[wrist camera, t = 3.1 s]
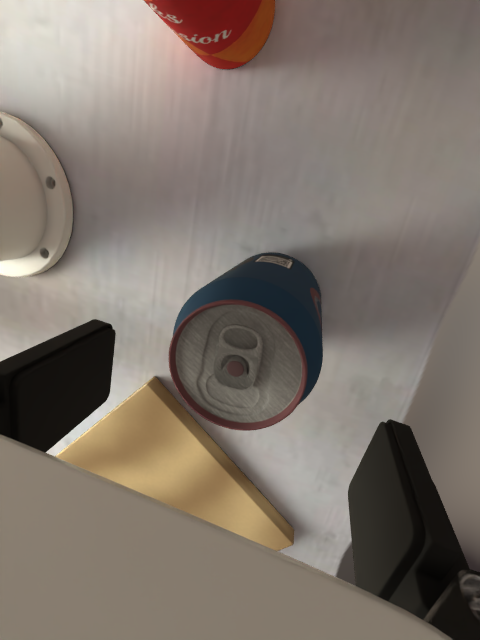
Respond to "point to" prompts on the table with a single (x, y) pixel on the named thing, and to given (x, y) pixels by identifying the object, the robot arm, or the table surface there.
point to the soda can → (250, 343)
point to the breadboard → (176, 465)
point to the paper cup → (219, 27)
